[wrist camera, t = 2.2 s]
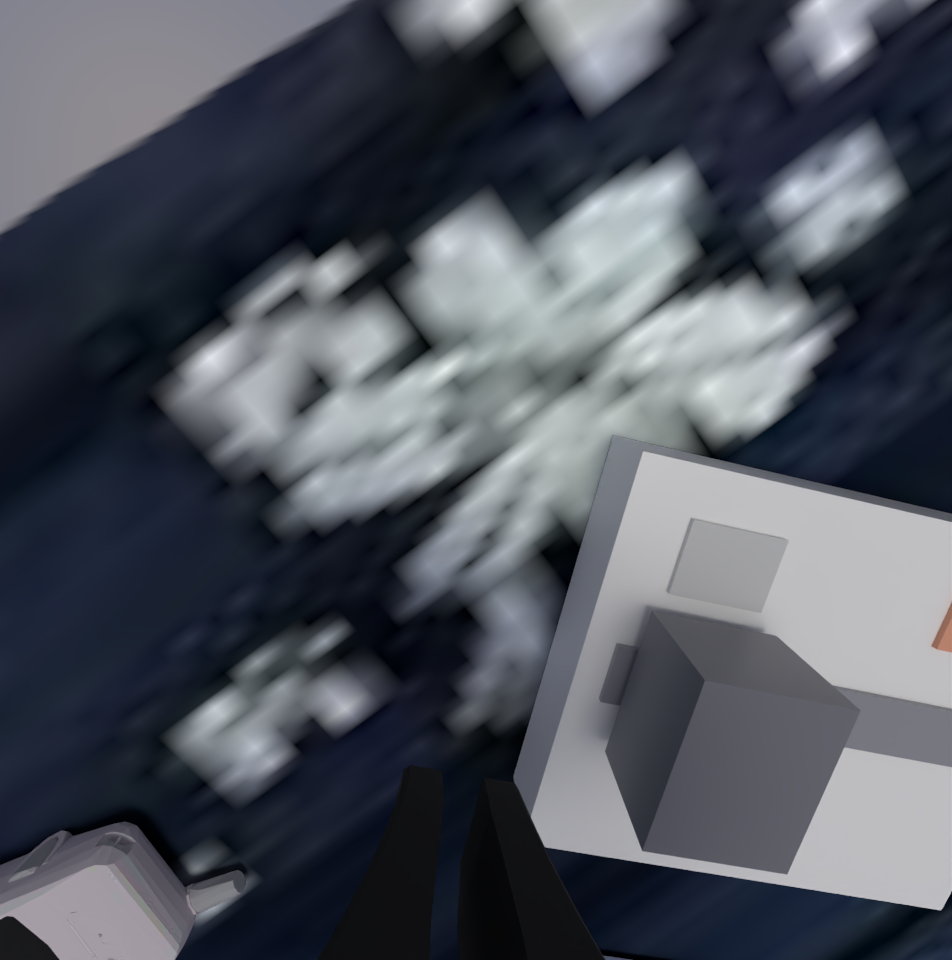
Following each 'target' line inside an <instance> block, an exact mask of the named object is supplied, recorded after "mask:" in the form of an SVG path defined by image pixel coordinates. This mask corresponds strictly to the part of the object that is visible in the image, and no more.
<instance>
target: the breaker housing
mask: <svg viewBox="0 0 952 960" xmlns="http://www.w3.org/2000/svg"><path fill="white" fill-rule="evenodd" d="M652 611H657V612H662V613H667V614H672V615H677V616H682V617H687V618H692V619H696V620H701V621H706V622H711V623H716V624H721V625H726V626H731V627H736V628H741V629H746V630H751V631H756V632H760V633H765V634H770V635H775V636H777V637H778V638H779V639H780V640H782V641H783V642H784V643H785V644H786V645H787V646H788V647H790V648H791V649H792V650H793V651H794V652H795V653H796V654H797V655H799V656H800V657H801V658H802V659H803V660H804V661H805V662H806V663H808V664H809V665H810V666H811V667H812V668H813V669H814V670H816V671H817V672H818V673H819V674H820V675H821V676H822V677H823V678H825V679H826V680H827V681H828V682H829V683H830V684H831V685H832V686H834V687H835V688H836V689H837V690H838V691H839V692H840V693H842V694H843V695H844V696H845V697H846V698H847V699H848V700H849V701H851V702H852V703H853V704H854V705H855V706H856V707H857V708H858V709H860V710H861V711H860V713H859V716H858V718H857V720H856V722H855V725H854V727H853V729H852V731H851V734H850V736H849V738H848V740H847V742H846V745H845V747H844V749H843V751H842V754H841V756H840V758H839V760H838V763H837V765H836V767H835V769H834V771H833V774H832V776H831V778H830V780H829V783H828V785H827V787H826V789H825V791H824V794H823V796H822V798H821V800H820V803H819V805H818V807H817V809H816V812H815V814H814V816H813V818H812V820H811V823H810V825H809V827H808V829H807V832H806V834H805V836H804V838H803V841H802V843H801V845H800V847H799V849H798V852H797V854H796V856H795V858H794V861H793V863H792V865H791V867H790V869H789V872H788V874H781V873H774V872H768V871H762V870H756V869H750V868H743V867H737V866H731V865H725V864H719V863H712V862H706V861H700V860H694V859H688V858H681V857H675V856H669V855H663V854H657V853H650V852H644V851H642V850H641V847H640V844H639V842H638V839H637V836H636V833H635V831H634V828H633V825H632V823H631V820H630V817H629V815H628V812H627V809H626V807H625V804H624V801H623V799H622V796H621V793H620V791H619V788H618V785H617V783H616V780H615V777H614V775H613V772H612V769H611V767H610V764H609V761H608V758H607V756H606V753H605V750H606V747H607V744H608V741H609V738H610V735H611V732H612V729H613V726H614V723H615V720H616V717H617V714H618V711H619V708H620V705H621V702H622V699H623V696H624V693H625V690H626V687H627V684H628V681H629V678H630V675H631V672H632V669H633V666H634V663H635V660H636V657H637V654H638V651H639V648H640V645H641V642H642V639H643V636H644V633H645V630H646V627H647V624H648V621H649V618H650V615H651V612H652ZM513 777H514V783H515V784H516V786H517V787H518V789H519V791H520V794H521V796H522V798H523V801H524V803H525V805H526V807H527V810H528V812H529V814H530V816H531V819H532V821H533V823H534V825H535V827H536V830H537V832H538V834H539V836H540V838H541V840H542V842H543V844H544V847H547V848H553V849H560V850H566V851H572V852H579V853H585V854H591V855H597V856H604V857H610V858H616V859H622V860H629V861H635V862H641V863H648V864H654V865H660V866H666V867H673V868H679V869H685V870H692V871H698V872H704V873H710V874H717V875H723V876H729V877H735V878H742V879H748V880H754V881H761V882H767V883H773V884H779V885H786V886H792V887H798V888H804V889H811V890H817V891H823V892H830V893H836V894H842V895H848V896H855V897H861V898H867V899H874V900H880V901H886V902H892V903H899V904H905V905H911V906H917V907H924V908H930V909H936V910H942V908H943V906H944V904H945V903H946V901H947V899H948V897H949V895H950V893H951V891H952V514H950V513H946V512H942V511H938V510H933V509H929V508H925V507H920V506H916V505H912V504H907V503H903V502H899V501H894V500H890V499H886V498H881V497H877V496H873V495H869V494H864V493H860V492H856V491H851V490H847V489H843V488H838V487H834V486H830V485H825V484H821V483H817V482H812V481H808V480H804V479H799V478H795V477H791V476H787V475H782V474H778V473H774V472H769V471H765V470H761V469H756V468H752V467H748V466H743V465H739V464H735V463H730V462H726V461H722V460H718V459H713V458H709V457H705V456H700V455H696V454H692V453H687V452H683V451H679V450H674V449H670V448H666V447H661V446H657V445H653V444H648V443H644V442H640V441H636V440H631V439H627V438H623V437H618V436H614V435H613V438H612V441H611V444H610V448H609V451H608V455H607V458H606V462H605V465H604V468H603V472H602V475H601V479H600V482H599V485H598V489H597V492H596V496H595V499H594V503H593V506H592V509H591V513H590V516H589V520H588V523H587V526H586V530H585V533H584V537H583V540H582V544H581V547H580V550H579V554H578V557H577V561H576V564H575V567H574V571H573V574H572V578H571V581H570V585H569V588H568V591H567V595H566V598H565V602H564V605H563V608H562V612H561V615H560V619H559V622H558V626H557V629H556V632H555V636H554V639H553V643H552V646H551V649H550V653H549V656H548V660H547V663H546V667H545V670H544V673H543V677H542V680H541V684H540V687H539V690H538V694H537V697H536V701H535V704H534V708H533V711H532V714H531V718H530V721H529V725H528V728H527V731H526V735H525V738H524V742H523V745H522V749H521V752H520V755H519V759H518V762H517V766H516V769H515V772H514V776H513Z"/></svg>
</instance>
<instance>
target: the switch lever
mask: <svg viewBox="0 0 952 960" xmlns="http://www.w3.org/2000/svg"><path fill="white" fill-rule="evenodd" d="M860 711H861V710H860V709H858V708H857V707H856V706H855V705H854V704H853V703H852V702H851V701H849V700H848V699H847V698H846V697H845V696H844V695H843V694H842V693H840V692H839V691H838V690H837V689H836V688H835V687H834V686H832V685H831V684H830V683H829V682H828V681H827V680H826V679H825V678H823V677H822V676H821V675H820V674H819V673H818V672H817V671H816V670H814V669H813V668H812V667H811V666H810V665H809V664H808V663H806V662H805V661H804V660H803V659H802V658H801V657H800V656H799V655H797V654H796V653H795V652H794V651H793V650H792V649H791V648H790V647H788V646H787V645H786V644H785V643H784V642H783V641H782V640H780V639H779V638H778V637H777V636H775V635H770V634H765V633H760V632H756V631H751V630H746V629H741V628H736V627H731V626H726V625H721V624H716V623H711V622H706V621H701V620H696V619H692V618H687V617H682V616H677V615H672V614H667V613H662V612H657V611H652V612H651V615H650V618H649V621H648V624H647V627H646V630H645V633H644V636H643V639H642V642H641V645H640V648H639V651H638V654H637V657H636V660H635V663H634V666H633V669H632V672H631V675H630V678H629V681H628V684H627V687H626V690H625V693H624V696H623V699H622V702H621V705H620V708H619V711H618V714H617V717H616V720H615V723H614V726H613V729H612V732H611V735H610V738H609V741H608V744H607V747H606V750H605V753H606V756H607V758H608V761H609V764H610V767H611V769H612V772H613V775H614V777H615V780H616V783H617V785H618V788H619V791H620V793H621V796H622V799H623V801H624V804H625V807H626V809H627V812H628V815H629V817H630V820H631V823H632V825H633V828H634V831H635V833H636V836H637V839H638V842H639V844H640V847H641V850H642V851H644V852H650V853H657V854H663V855H669V856H675V857H681V858H688V859H694V860H700V861H706V862H712V863H719V864H725V865H731V866H737V867H743V868H750V869H756V870H762V871H768V872H774V873H781V874H788V872H789V869H790V867H791V865H792V863H793V861H794V858H795V856H796V854H797V852H798V849H799V847H800V845H801V843H802V841H803V838H804V836H805V834H806V832H807V829H808V827H809V825H810V823H811V820H812V818H813V816H814V814H815V812H816V809H817V807H818V805H819V803H820V800H821V798H822V796H823V794H824V791H825V789H826V787H827V785H828V783H829V780H830V778H831V776H832V774H833V771H834V769H835V767H836V765H837V763H838V760H839V758H840V756H841V754H842V751H843V749H844V747H845V745H846V742H847V740H848V738H849V736H850V734H851V731H852V729H853V727H854V725H855V722H856V720H857V718H858V716H859V713H860Z"/></svg>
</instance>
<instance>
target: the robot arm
mask: <svg viewBox="0 0 952 960" xmlns="http://www.w3.org/2000/svg"><path fill="white" fill-rule="evenodd" d="M443 806H444V795H443V778H442V770H436V769H430V768H424V767H418V766H412V765H410V766H409V767H407V768H405V769H404V770H403V774H402V779H401V783H400V787H399V791H398V795H397V800H396V804H395V807H394V810H393V813H392V815H391V818H390V821H389V823H388V826H387V828H386V830H385V833H384V835H383V837H382V839H381V842H380V844H379V846H378V848H377V851H376V853H375V855H374V857H373V860H372V862H371V864H370V866H369V868H368V870H367V872H366V874H365V876H364V878H363V879H362V881H361V883H360V885H359V887H358V889H357V891H356V893H355V895H354V897H353V899H352V900H351V902H350V904H349V906H348V908H347V910H346V912H345V914H344V915H343V917H342V919H341V921H340V922H339V924H338V926H337V928H336V929H335V931H334V933H333V935H332V936H331V938H330V940H329V941H328V943H327V945H326V946H325V948H324V950H323V951H322V953H321V955H320V956H319V958H318V959H317V960H430V929H431V914H432V903H433V895H434V886H435V877H436V868H437V859H438V851H439V842H440V833H441V824H442V815H443ZM458 948H459V960H631V959H624V958H617V957H610V956H603V955H602V953H601V951H600V950H599V948H598V946H597V944H596V943H595V941H594V939H593V938H592V936H591V934H590V932H589V931H588V929H587V927H586V925H585V924H584V922H583V920H582V918H581V916H580V915H579V913H578V911H577V909H576V907H575V905H574V904H573V902H572V900H571V898H570V896H569V894H568V892H567V890H566V888H565V886H564V884H563V883H562V881H561V879H560V877H559V875H558V873H557V871H556V869H555V867H554V865H553V863H552V861H551V859H550V857H549V855H548V853H547V851H546V849H545V847H544V844H543V842H542V840H541V838H540V836H539V834H538V832H537V830H536V827H535V825H534V823H533V821H532V819H531V816H530V814H529V812H528V810H527V807H526V805H525V803H524V801H523V798H522V796H521V794H520V791H519V789H518V787H517V786H516V784H515V783H512V782H507V781H501V780H495V779H489V778H484V780H483V783H482V787H481V790H480V794H479V798H478V801H477V805H476V808H475V812H474V816H473V819H472V823H471V826H470V830H469V834H468V837H467V841H466V844H465V848H464V851H463V855H462V859H461V862H460V882H459V903H458Z"/></svg>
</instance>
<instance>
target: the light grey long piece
mask: <svg viewBox="0 0 952 960" xmlns="http://www.w3.org/2000/svg"><path fill="white" fill-rule="evenodd" d="M245 884H246V880H245V876H244V874H243V873H242V872H241V871H239V870H236V871H232V872H229V873H226V874H223V875H220V876H217V877H214V878H211V879H208V880H204V881H201V882H198V883H195V884H191V885H189V886H186V887H184V886H183V884H182V883H181V882H180V880H179V879H178V878H177V877H176V875H175V874H174V873H173V871H172V870H171V869H170V868H169V866H168V865H167V864H166V862H165V861H164V860H163V858H162V857H161V856H160V855H159V853H158V852H157V851H156V849H155V848H154V847H153V845H152V844H151V843H150V842H149V840H148V839H147V838H146V836H145V835H144V834H143V833H142V831H141V830H140V829H139V827H138V826H137V825H134V824H131V823H128V822H120V823H115V824H112V825H108V826H104V827H101V828H98V829H95V830H92V831H88V832H85V833H82V834H79V835H76V836H73V835H72V834H71V833H70V832H67V831H62V830H61V831H59V832H58V833H56V834H54V835H52V836H50V837H48V838H47V839H46V840H44V841H43V842H42V843H41V844H40V845H38V846H37V847H36V848H35V849H33V850H32V852H31V853H29V854H26V855H24V856H21V857H19V858H17V859H14V860H12V861H9V862H7V863H4V864H2V865H0V960H175V959H176V957H177V956H178V954H179V952H180V951H181V949H182V947H183V946H184V944H185V942H186V940H187V938H188V936H189V933H190V931H191V929H192V927H193V924H194V920H195V917H196V914H199V913H201V912H204V911H206V910H208V909H210V908H212V907H214V906H216V905H218V904H220V903H222V902H224V901H226V900H228V899H231V898H233V897H235V896H237V895H239V894H241V893H242V891H243V889H244V886H245Z"/></svg>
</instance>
